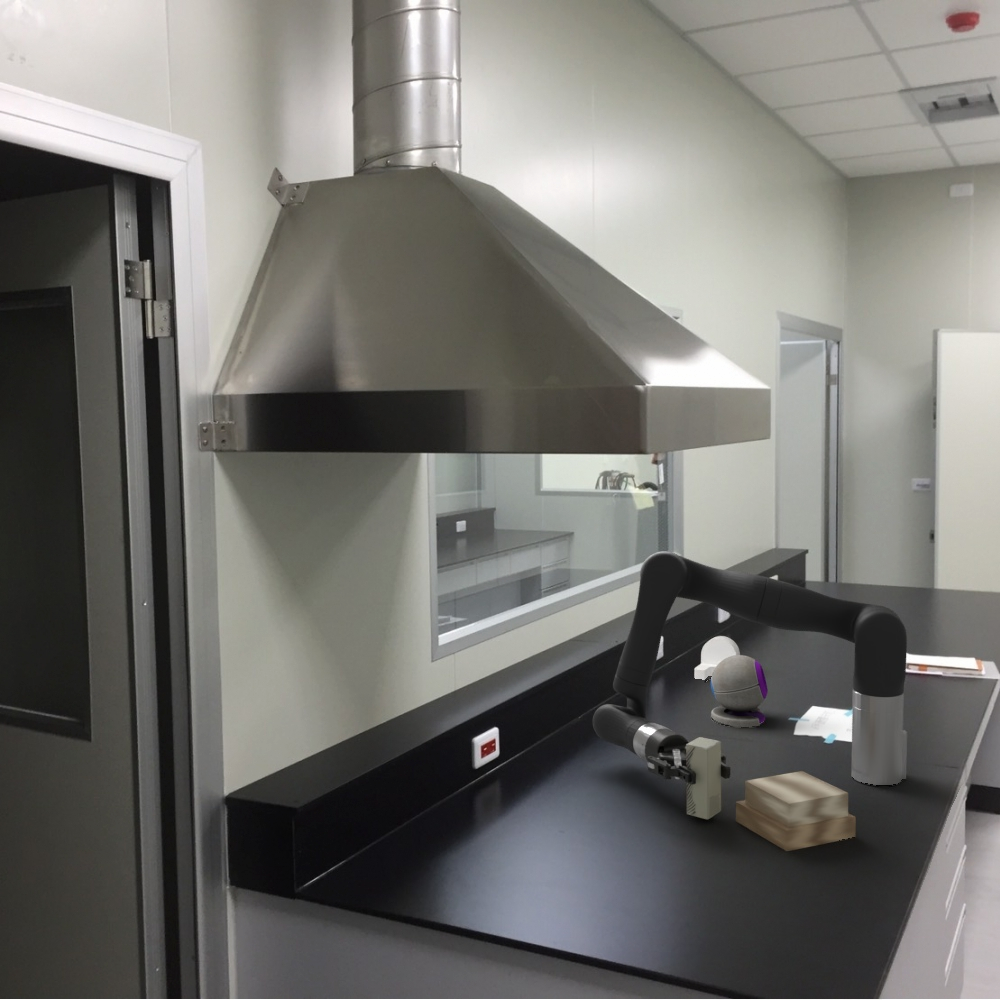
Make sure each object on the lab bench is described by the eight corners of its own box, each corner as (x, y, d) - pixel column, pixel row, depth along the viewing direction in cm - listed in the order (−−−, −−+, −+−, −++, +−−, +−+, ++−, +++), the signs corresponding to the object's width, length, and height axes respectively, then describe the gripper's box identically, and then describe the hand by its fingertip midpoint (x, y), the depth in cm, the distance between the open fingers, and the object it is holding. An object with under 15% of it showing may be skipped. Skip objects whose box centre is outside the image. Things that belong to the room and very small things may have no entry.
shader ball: (766, 729, 237) (767, 663, 236) (708, 725, 241) (708, 660, 239) (768, 713, 250) (768, 651, 248) (712, 710, 253) (713, 648, 252)
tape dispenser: (746, 671, 291) (746, 632, 290) (729, 686, 275) (729, 645, 274) (711, 667, 296) (712, 629, 295) (693, 682, 280) (693, 642, 279)
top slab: (801, 793, 188) (801, 771, 188) (848, 816, 177) (848, 792, 177) (745, 803, 183) (745, 780, 183) (789, 827, 172) (789, 803, 172)
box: (699, 806, 189) (699, 735, 188) (722, 811, 186) (722, 740, 185) (685, 815, 185) (684, 743, 183) (707, 821, 182) (707, 748, 181)
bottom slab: (801, 811, 190) (801, 789, 189) (855, 840, 177) (855, 816, 177) (735, 824, 184) (735, 801, 184) (786, 854, 172) (786, 830, 171)
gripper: (627, 733, 195) (675, 760, 179) (694, 723, 200) (746, 748, 185) (627, 772, 195) (675, 803, 180) (694, 761, 201) (746, 790, 185)
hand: (711, 775), depth 182 cm, fingers closed on box, 6 cm apart
